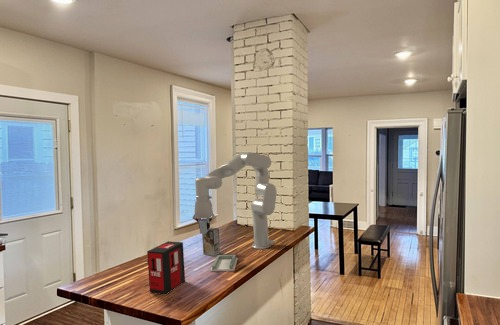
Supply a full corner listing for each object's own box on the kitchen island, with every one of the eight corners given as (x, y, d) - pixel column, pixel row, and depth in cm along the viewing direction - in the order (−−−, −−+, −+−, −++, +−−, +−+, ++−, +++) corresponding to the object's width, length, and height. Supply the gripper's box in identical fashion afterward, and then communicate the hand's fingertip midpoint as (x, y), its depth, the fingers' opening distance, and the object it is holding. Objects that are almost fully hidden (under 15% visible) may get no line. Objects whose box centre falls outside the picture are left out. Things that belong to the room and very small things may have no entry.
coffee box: (220, 253, 216) (219, 228, 215) (215, 256, 210) (213, 230, 209) (208, 251, 220) (207, 227, 219) (202, 254, 214) (201, 229, 213)
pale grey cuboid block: (209, 229, 206) (208, 217, 206) (205, 233, 196) (205, 221, 196) (203, 229, 207) (202, 217, 206) (199, 233, 197) (199, 221, 196)
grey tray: (237, 259, 202) (237, 254, 202) (234, 270, 184) (234, 265, 184) (215, 260, 203) (215, 255, 202) (210, 271, 185) (210, 266, 184)
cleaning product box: (165, 295, 158) (163, 252, 156) (149, 292, 161) (147, 251, 160) (185, 281, 173) (182, 242, 172) (170, 279, 176) (168, 241, 175)
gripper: (217, 197, 204) (219, 227, 205) (190, 198, 205) (192, 228, 206) (215, 199, 196) (217, 230, 197) (187, 200, 197) (189, 231, 198)
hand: (204, 229), depth 201 cm, fingers closed on pale grey cuboid block, 3 cm apart
